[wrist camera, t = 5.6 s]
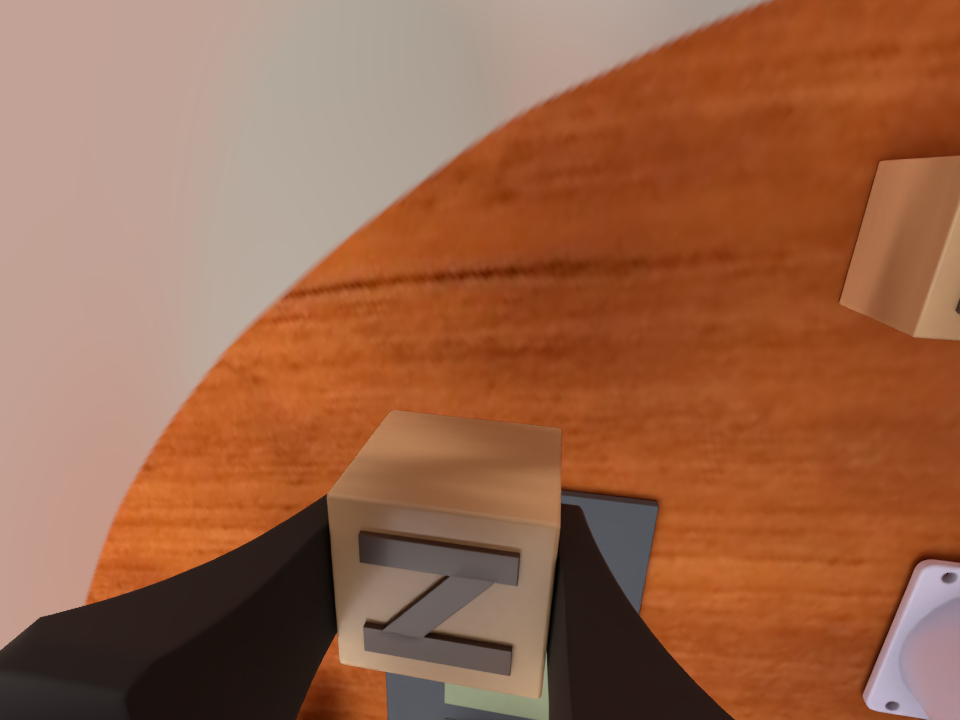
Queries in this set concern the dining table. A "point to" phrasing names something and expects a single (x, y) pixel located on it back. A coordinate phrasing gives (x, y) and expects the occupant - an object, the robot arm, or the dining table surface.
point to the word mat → (498, 716)
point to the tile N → (448, 550)
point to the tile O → (910, 249)
